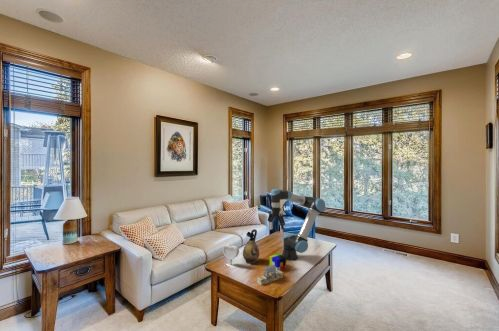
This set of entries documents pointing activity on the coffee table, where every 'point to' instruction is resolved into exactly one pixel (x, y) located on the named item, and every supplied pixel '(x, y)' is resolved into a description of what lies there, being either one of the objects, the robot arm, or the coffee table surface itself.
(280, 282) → the coffee table surface
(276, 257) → the puzzle toy
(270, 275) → the cream lumpy bar
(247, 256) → the ceramic jug
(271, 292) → the coffee table surface
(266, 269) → the clip
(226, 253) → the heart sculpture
